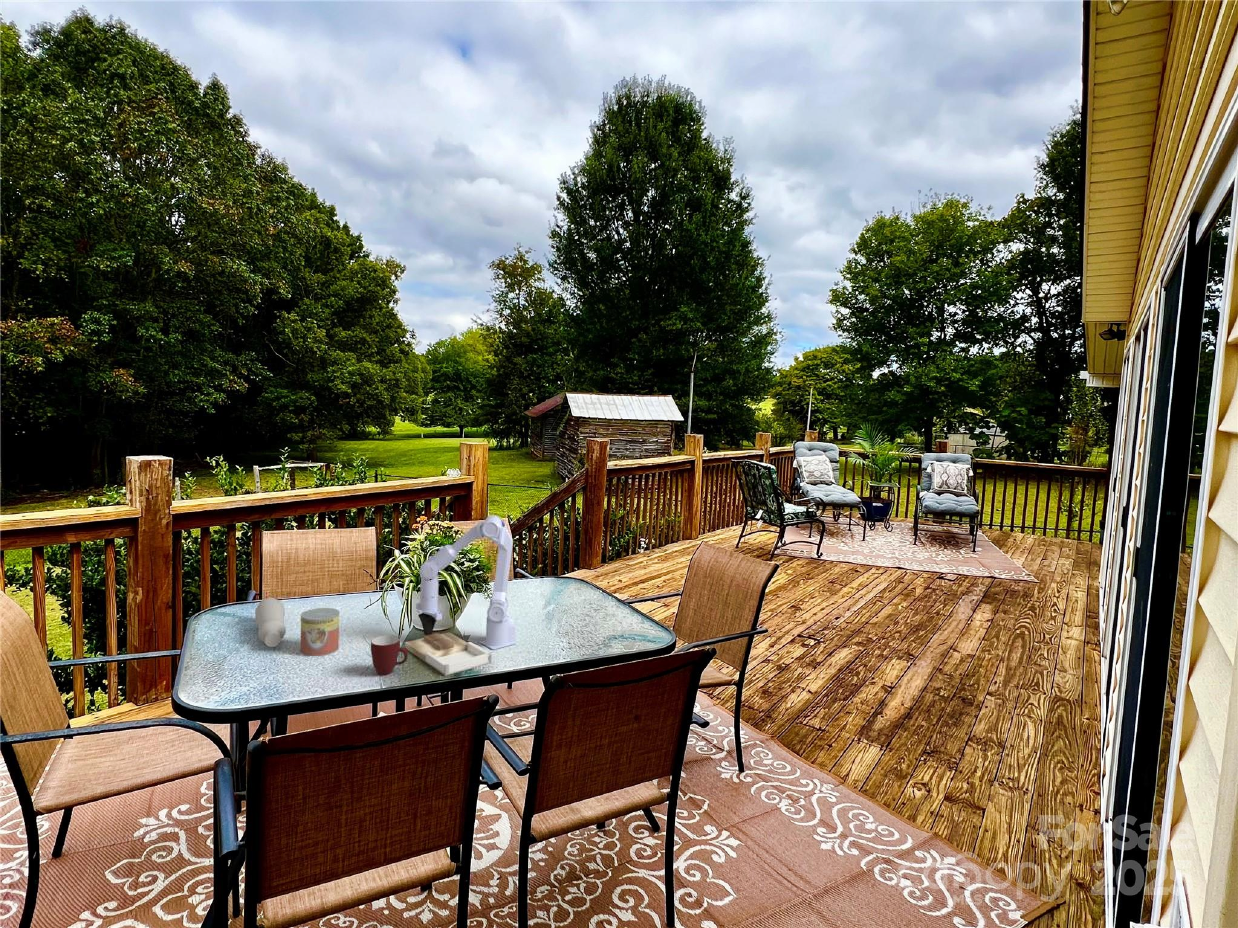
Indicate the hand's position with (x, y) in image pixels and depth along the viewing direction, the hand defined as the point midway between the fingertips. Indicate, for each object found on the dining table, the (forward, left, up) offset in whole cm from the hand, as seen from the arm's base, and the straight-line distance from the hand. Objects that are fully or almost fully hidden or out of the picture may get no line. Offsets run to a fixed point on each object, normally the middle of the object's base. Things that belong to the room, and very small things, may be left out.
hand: (428, 634), depth 213 cm
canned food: (+30, -15, -3) cm, 34 cm away
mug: (+20, +14, -3) cm, 25 cm away
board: (0, +7, -3) cm, 7 cm away
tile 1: (0, +4, -1) cm, 4 cm away
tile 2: (0, +10, -1) cm, 10 cm away
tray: (0, +20, -3) cm, 21 cm away
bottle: (+39, -37, -3) cm, 53 cm away
